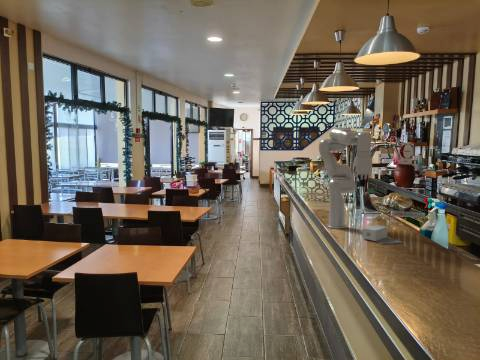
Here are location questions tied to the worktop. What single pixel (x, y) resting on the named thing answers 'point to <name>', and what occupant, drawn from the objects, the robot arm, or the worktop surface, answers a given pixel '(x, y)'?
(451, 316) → the worktop surface
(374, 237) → the small box
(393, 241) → the mat
